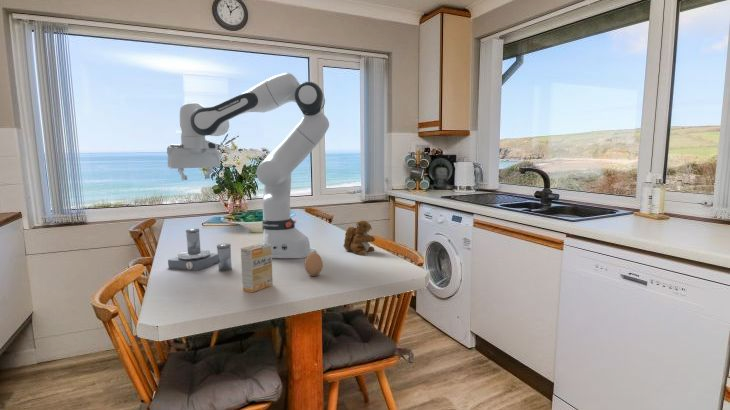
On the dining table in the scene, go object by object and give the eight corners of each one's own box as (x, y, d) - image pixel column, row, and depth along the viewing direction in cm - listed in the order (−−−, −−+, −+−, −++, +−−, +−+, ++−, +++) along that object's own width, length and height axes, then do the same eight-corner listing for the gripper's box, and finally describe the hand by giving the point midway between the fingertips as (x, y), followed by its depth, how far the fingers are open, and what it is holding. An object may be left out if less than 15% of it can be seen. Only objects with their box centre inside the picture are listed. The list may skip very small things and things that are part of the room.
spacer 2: (234, 267, 138) (233, 243, 137) (226, 271, 134) (225, 246, 133) (223, 267, 140) (222, 243, 138) (215, 270, 135) (213, 245, 134)
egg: (301, 275, 129) (301, 252, 128) (317, 271, 132) (316, 249, 131) (310, 279, 124) (309, 256, 123) (326, 275, 128) (325, 252, 127)
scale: (220, 261, 147) (219, 252, 147) (197, 270, 135) (196, 261, 135) (191, 259, 151) (191, 250, 150) (167, 268, 139) (166, 259, 138)
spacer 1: (203, 251, 144) (202, 228, 143) (195, 255, 140) (193, 230, 139) (193, 251, 146) (191, 228, 144) (184, 254, 141) (182, 230, 140)
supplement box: (253, 293, 113) (251, 249, 111) (242, 290, 115) (239, 247, 113) (273, 285, 120) (271, 244, 118) (262, 282, 122) (260, 242, 120)
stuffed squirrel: (366, 256, 152) (366, 223, 150) (337, 252, 159) (336, 220, 158) (378, 250, 161) (378, 219, 159) (350, 246, 168) (349, 217, 166)
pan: (216, 252, 146) (216, 250, 146) (196, 260, 136) (196, 257, 136) (192, 251, 150) (192, 248, 149) (171, 258, 139) (170, 256, 139)
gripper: (170, 144, 143) (173, 181, 144) (221, 144, 158) (223, 178, 160) (163, 144, 147) (166, 180, 148) (213, 145, 162) (215, 177, 164)
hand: (196, 179), depth 154 cm, fingers open, 8 cm apart
